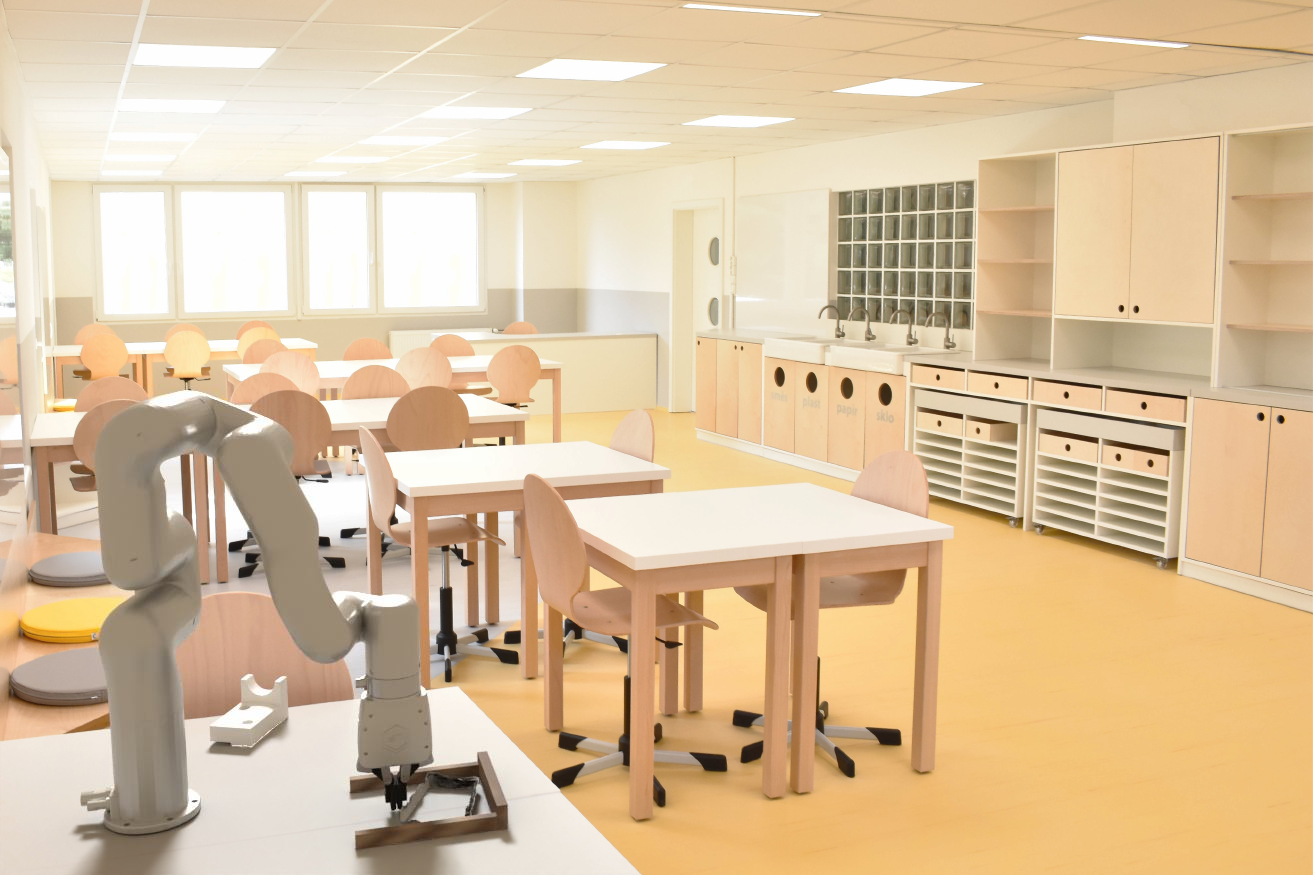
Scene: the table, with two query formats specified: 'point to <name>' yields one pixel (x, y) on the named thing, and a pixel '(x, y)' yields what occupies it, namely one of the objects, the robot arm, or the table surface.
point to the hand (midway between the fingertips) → (396, 805)
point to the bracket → (252, 713)
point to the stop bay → (444, 826)
